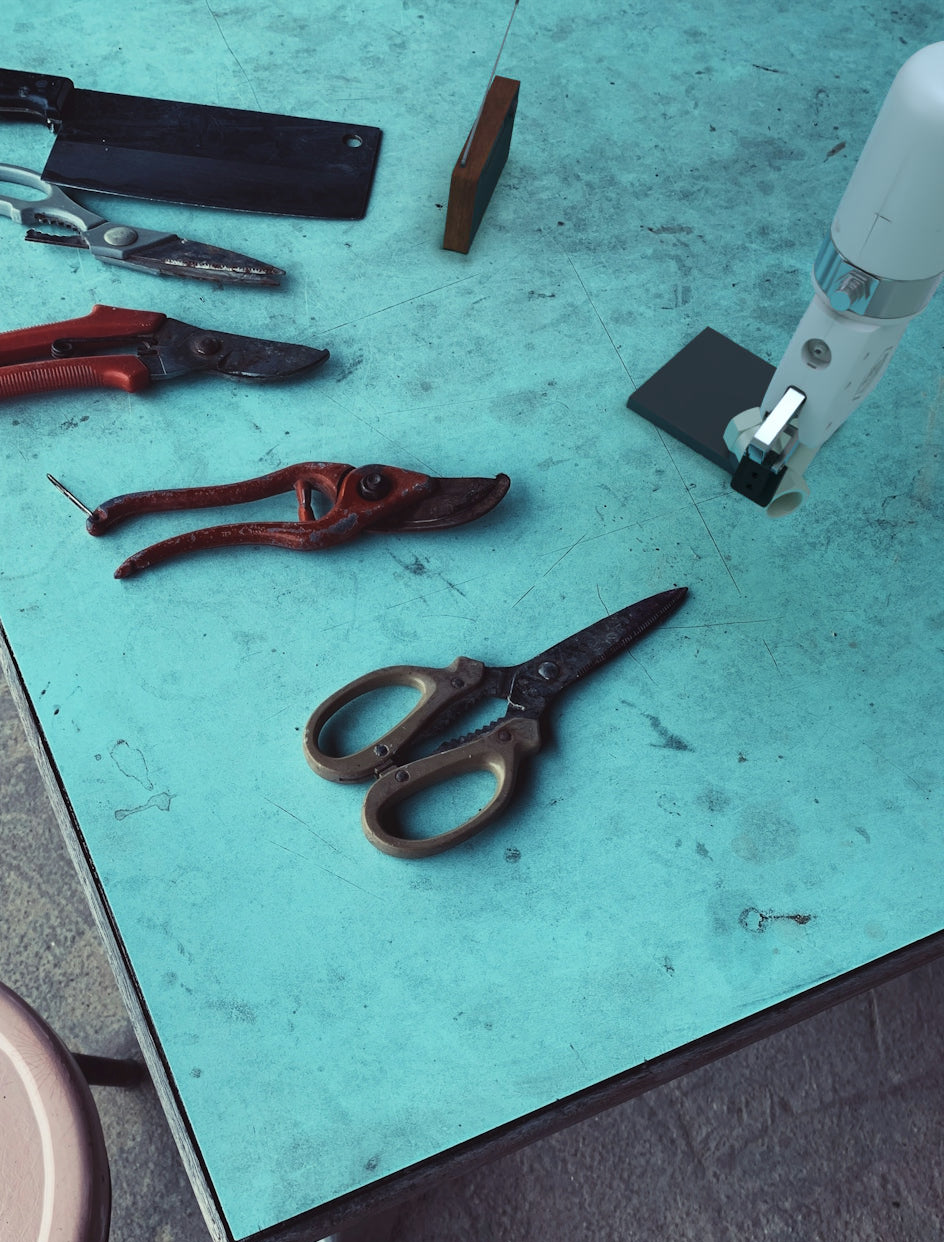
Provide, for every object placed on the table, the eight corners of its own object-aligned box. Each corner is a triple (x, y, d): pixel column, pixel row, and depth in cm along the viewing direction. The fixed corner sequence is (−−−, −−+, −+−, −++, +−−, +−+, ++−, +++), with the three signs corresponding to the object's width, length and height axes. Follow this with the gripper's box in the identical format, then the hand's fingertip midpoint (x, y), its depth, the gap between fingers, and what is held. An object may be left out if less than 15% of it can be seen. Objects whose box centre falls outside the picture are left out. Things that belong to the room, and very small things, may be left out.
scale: (849, 425, 113) (862, 402, 110) (769, 507, 108) (780, 485, 106) (703, 336, 118) (712, 312, 115) (620, 411, 113) (628, 387, 110)
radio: (470, 256, 122) (491, 115, 109) (442, 249, 122) (459, 107, 109) (516, 146, 130) (541, 2, 117) (489, 140, 130) (511, -5, 117)
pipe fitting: (796, 436, 95) (717, 444, 93) (818, 399, 91) (736, 407, 90) (834, 515, 91) (753, 524, 90) (858, 479, 88) (774, 488, 87)
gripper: (861, 369, 70) (764, 553, 86) (999, 223, 76) (885, 420, 92) (753, 308, 73) (677, 499, 88) (895, 171, 79) (801, 371, 94)
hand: (783, 458), depth 90 cm, fingers closed on pipe fitting, 9 cm apart
